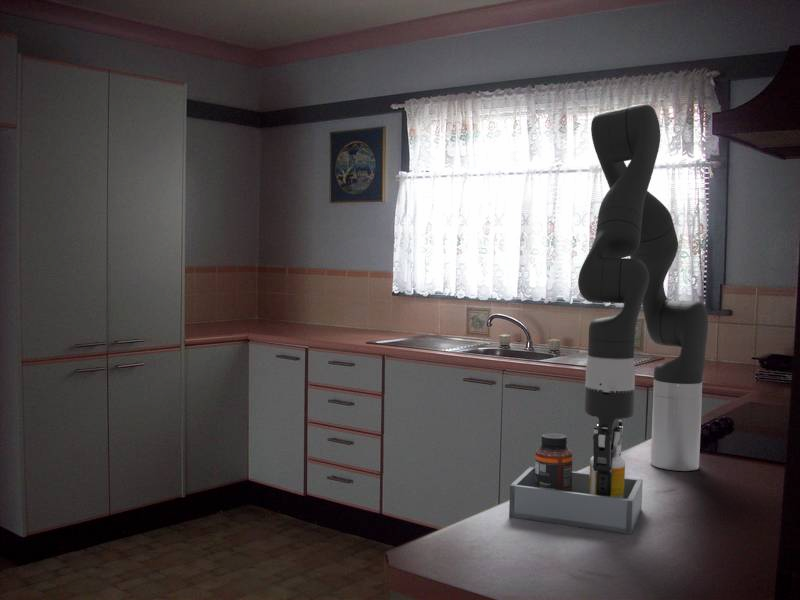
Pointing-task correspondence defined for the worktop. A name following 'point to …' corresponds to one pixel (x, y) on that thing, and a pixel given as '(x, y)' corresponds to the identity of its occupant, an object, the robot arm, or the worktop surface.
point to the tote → (576, 504)
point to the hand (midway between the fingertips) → (606, 490)
